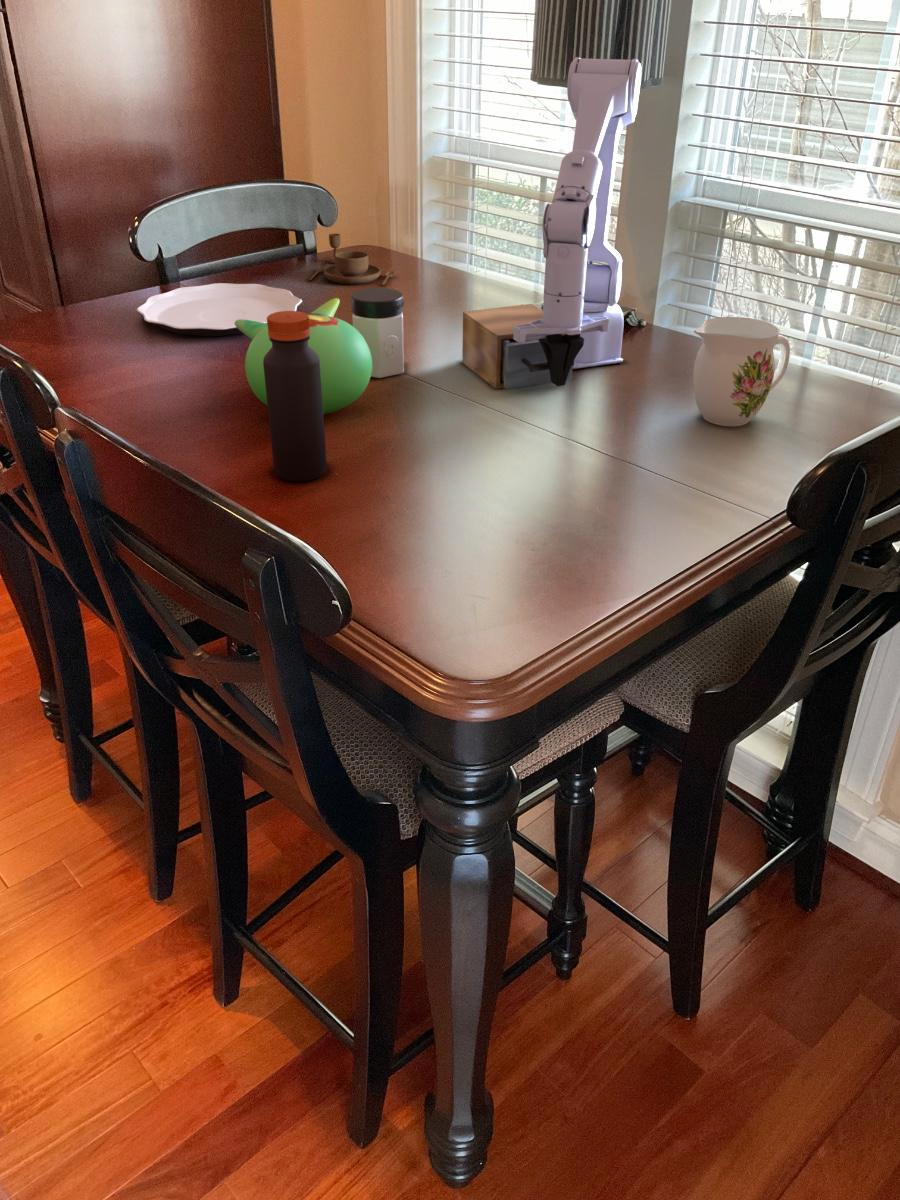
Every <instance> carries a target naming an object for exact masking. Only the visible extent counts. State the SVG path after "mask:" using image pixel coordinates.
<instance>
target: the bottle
mask: <svg viewBox="0 0 900 1200" xmlns="http://www.w3.org/2000/svg"><path fill="white" fill-rule="evenodd" d="M307 314H308V313H306V312H304V311H299V310H296V311H281V312H276V313H273V314H270V315H269V316H268V317H267V325H268V335H269V340H270V341H271V342H272V348H271V349H270V350H269V351H268V353H267V354H266V355H265V356H264V360H263V366H264V376H265V386H266V396H267V405H266V406H267V415H268V424H269V434H270V444H271V454H272V463H273V464H272V465H273V472H274V474H275V476H276V477H278V478H279V479H281V480H284V481H287V482H293V483H300V482H301V483H302V482H309V481H313V480H316V479H319V478H321V477H322V476H323V475H324V474H325V473H326V472H327V470H328V464H327V463H328V461H327V448H326V446H327V445H326V434H325V419H324V417H325V416H324V415H323V402H322V388H321V373H320V358H319V355H318V354H317V353H316V352H315V351H314V350H313V349H312V348H311V347H310V346H308V340H309V339H310V336H309V335H310V326H309V316H308V315H307Z"/></svg>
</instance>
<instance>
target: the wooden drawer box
mask: <svg viewBox="0 0 900 1200" xmlns="http://www.w3.org/2000/svg"><path fill="white" fill-rule="evenodd" d="M542 317H543V308H540V307H538V306H537V305H535V304H533V303H524V304H517V305H509V306H499V307H490V308H483V309H474V310H466V311H462V352H461V353H462V359H461V361H462V363H463V364H464V365H465V366H466V367H468V368H469V369H470V370H471V371H473V373H475V374H476V375H478V376H479V377H480V378H482V379H483V380H484V381H485V382H487V383H488V385H490V386H491V387H493V388H494V389H496V390H498V389H506V388H505V387H504V381H502V380H501V379H500V369H501V340H502V339H509V338H513V333H514V326H517V325H522V324H526V323H530V322H533V321H536V320H540V319H542Z"/></svg>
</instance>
